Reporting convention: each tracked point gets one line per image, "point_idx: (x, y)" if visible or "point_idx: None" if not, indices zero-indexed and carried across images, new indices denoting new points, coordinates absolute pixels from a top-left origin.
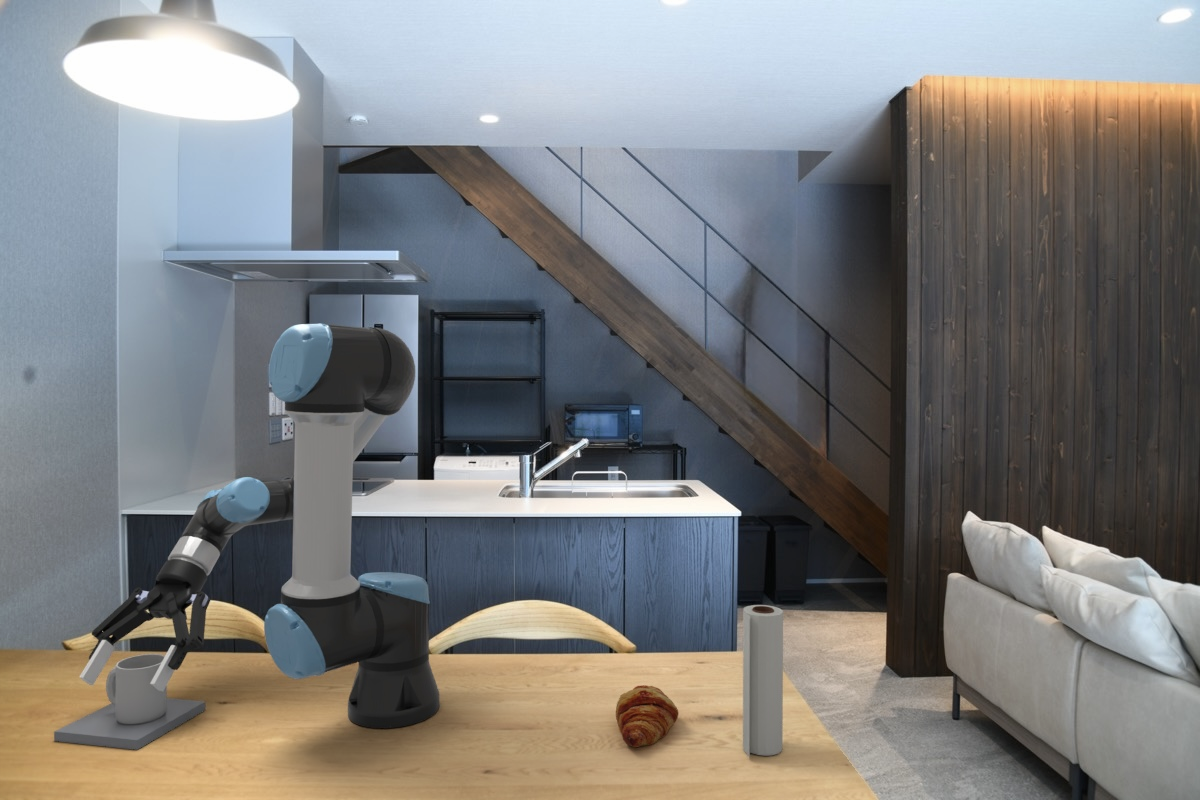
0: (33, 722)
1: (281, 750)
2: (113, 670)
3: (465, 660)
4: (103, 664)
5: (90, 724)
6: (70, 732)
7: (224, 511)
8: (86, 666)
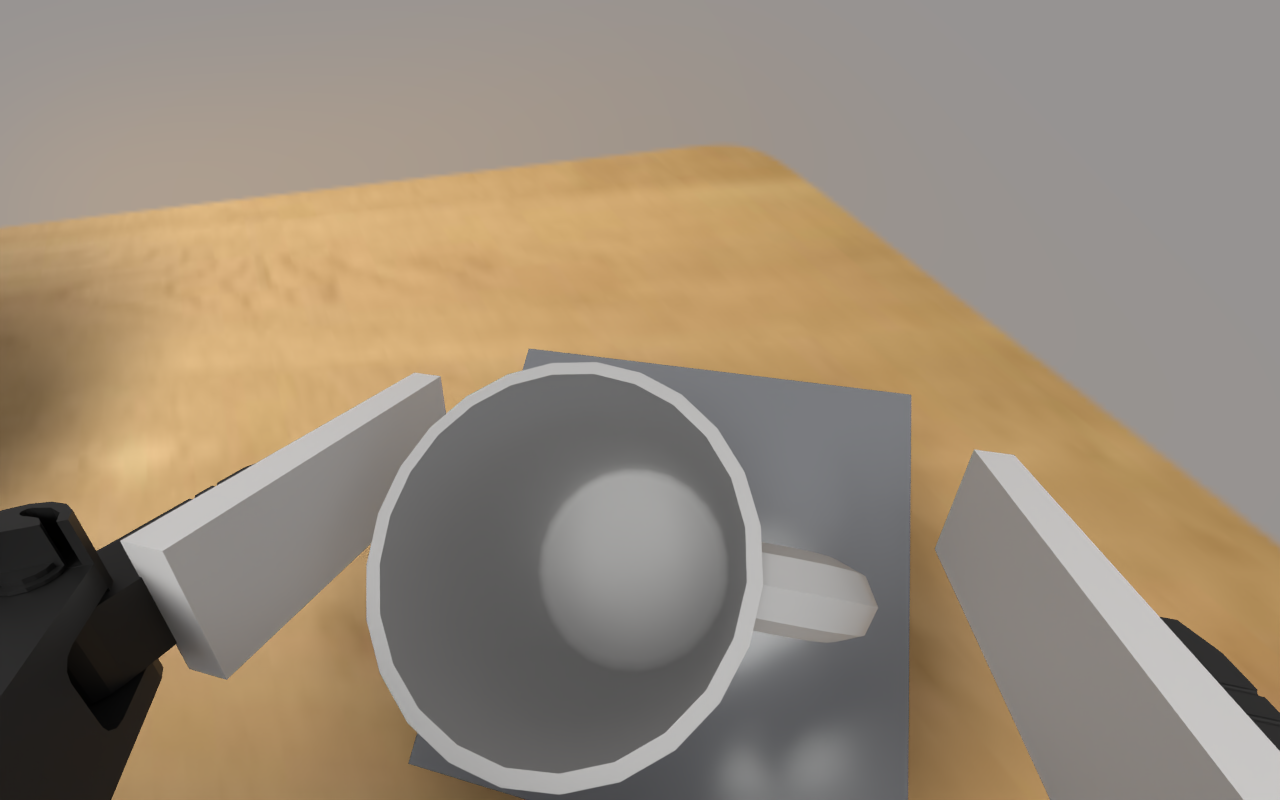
0: (1200, 593)
1: (121, 391)
2: (813, 557)
3: None
4: (1002, 666)
5: (806, 467)
6: (830, 390)
7: None
8: (1055, 509)
